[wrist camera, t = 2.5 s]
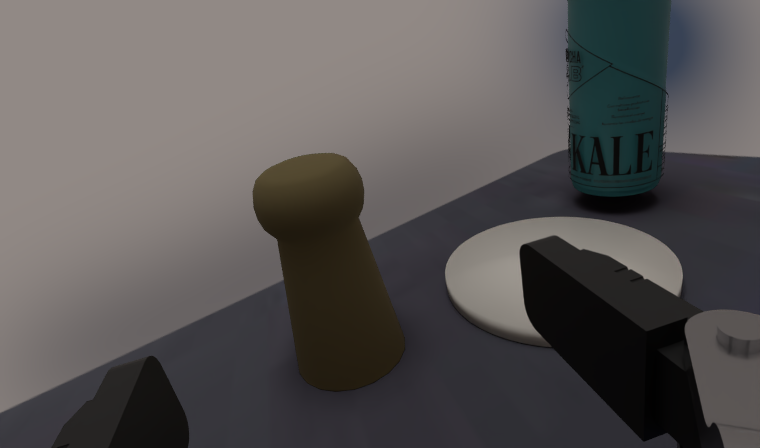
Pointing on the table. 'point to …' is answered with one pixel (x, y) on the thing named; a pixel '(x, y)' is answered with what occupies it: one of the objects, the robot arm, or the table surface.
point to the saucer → (503, 272)
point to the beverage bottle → (617, 94)
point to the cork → (329, 271)
